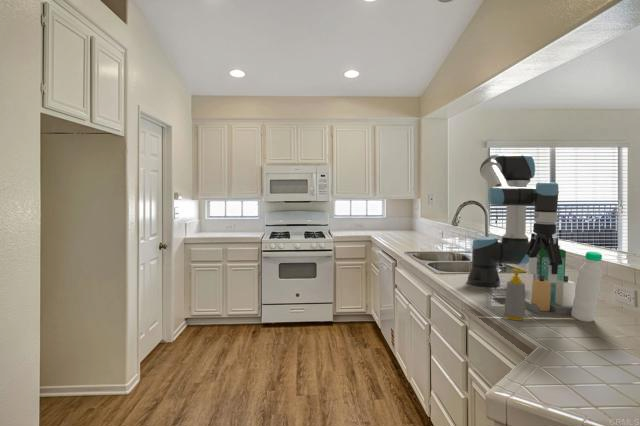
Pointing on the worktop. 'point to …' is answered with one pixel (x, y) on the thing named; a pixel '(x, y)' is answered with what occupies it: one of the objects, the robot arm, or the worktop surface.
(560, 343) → the worktop surface
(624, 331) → the worktop surface
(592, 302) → the water bottle
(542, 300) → the plug
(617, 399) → the worktop surface
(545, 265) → the milk carton
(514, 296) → the soap bottle
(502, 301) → the mat
